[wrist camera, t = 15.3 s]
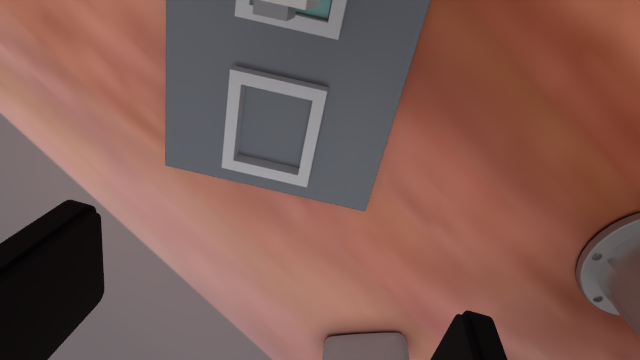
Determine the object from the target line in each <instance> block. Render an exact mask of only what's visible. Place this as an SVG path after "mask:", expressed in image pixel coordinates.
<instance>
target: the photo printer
mask: <svg viewBox="0 0 640 360" xmlns="http://www.w3.org/2000/svg"><path fill="white" fill-rule="evenodd" d="M323 360H409V353H408V346H407V341H406V339H405V337H404V336H403V335H401V334H400V333H368V334H352V335H341V336H332V337H328V338H326V341H325V343H324V351H323Z"/></svg>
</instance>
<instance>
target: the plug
mask: <svg viewBox="0 0 640 360" xmlns="http://www.w3.org/2000/svg"><path fill="white" fill-rule="evenodd" d="M320 3H321V0H254V4H253V14H255V15H260V16H264V17H269V18H273V19H278V20H283V21H288V20H291V19H293V18H295V13H296V8H298V9H303V10H307V9H310V8H313V7H316V6H318V5H320Z"/></svg>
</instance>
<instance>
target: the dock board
mask: <svg viewBox="0 0 640 360" xmlns="http://www.w3.org/2000/svg"><path fill="white" fill-rule="evenodd" d="M429 3H430V0H321V3H320V5H318V6H316V7H313V8H310V9H307V10H303V9H298V8H296V13H295V18H293V19H291V20H288V21H283V20H278V19H273V18H269V17H264V16H260V15H255V14H253V4H254V0H166V133H165V165H166V166H170V167H174V168H179V169H183V170H187V171H192V172H196V173H200V174H205V175H209V176H213V177H218V178H222V179H226V180H231V181H235V182H239V183H244V184H248V185H252V186H257V187H261V188H265V189H270V190H274V191H278V192H283V193H287V194H291V195H296V196H300V197H304V198H309V199H313V200H317V201H322V202H326V203H330V204H335V205H339V206H343V207H348V208H352V209H356V210H361V211H365V210H366V207H367V204H368V201H369V197H370V194H371V191H372V188H373V185H374V181H375V178H376V175H377V172H378V168H379V165H380V162H381V159H382V155H383V152H384V149H385V146H386V143H387V139H388V136H389V133H390V130H391V126H392V123H393V120H394V117H395V113H396V110H397V107H398V104H399V100H400V97H401V94H402V91H403V88H404V84H405V81H406V78H407V75H408V71H409V68H410V65H411V62H412V58H413V55H414V52H415V49H416V45H417V42H418V39H419V36H420V33H421V29H422V26H423V23H424V20H425V16H426V13H427V10H428V7H429Z"/></svg>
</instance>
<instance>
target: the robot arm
mask: <svg viewBox="0 0 640 360" xmlns="http://www.w3.org/2000/svg"><path fill="white" fill-rule="evenodd" d="M576 280H577V283H578V286H579V288H580V289H581V291H582V292H583V294H584V295H585V297H586V298H587V299H588V300H589V302H590V303H591V304H593V305H594V306H596V307H597V308H599V309H600V310H603V311H605V312H608V313H610V314H615V315H619V316H622V318H623V319H624V320H625V321H626V323H627V324H628V325H629V327H630V328H631V329H632V330H633V332H634V333H635V334H636V335H637V337H638V338H639V339H640V213H637V214H635V215H632V216H629V217H626V218H624V219H622V220H620V221H618V222H616V223H614V224H612V225H610V226H609V227H607V228H606V229H604V230H603V231H602V232H600V233H599V234H598V235H597V236H596V237H595V238H594V239H592V240H591V241H590V242H589V244H588V245H587V246H586V248H585V249H584V250H583V252H582V254H581V256H580V258H579V260H578V263H577V268H576ZM103 293H104V273H103V251H102V231H101V217H100V215H99V214H98V213H96V209H95V207H94V206H92V205H88V204H85V203H81V202H77V201H74V200H67V201H65V202H63V203H61V204H60V205H58V206H57V207H55V208H54V209H52V210H51V211H49V212H48V213H46V214H45V215H43V216H42V217H40V218H38V219H37V220H36V221H34V222H33V223H31V224H29V225H28V226H26V227H25V228H23V229H22V230H20V231H19V232H17V233H16V234H14V235H13V236H11V237H9V238H8V239H6V240H5V241H4V242H2V243H0V360H47V359H48V358H49V357H50V356H51V355H52V354H53V353H54V352H55V351H56V350H57V348H58V347H59V346H60V345H61V344H62V343H63V342H64V341H65V340H66V339H67V337H68V336H69V335H70V334H71V333H72V332H73V331H74V330H75V329H76V328H77V326H78V325H79V324H80V323H81V322H82V321H83V320H84V319H85V317H86V316H87V315H88V314H89V313H90V312H91V311H92V310H93V309H94V308H95V307H96V306H97V304H98V303H99V302H100V300H101V299H102V296H103ZM431 360H507V357H506V355H505V352H504V349H503V346H502V343H501V341H500V338H499V335H498V332H497V329H496V327H495V324H494V321H493V319H492V318H491V317H489V316H486V315H482V314H479V313H475V312H472V311H465V312H464V313H463V314H462V315H460V314H457V315H456V316H455V317H454V319H453V321H452V323H451V324H450V326H449V328H448V330H447V332H446V333H445V335H444V337H443V339H442V340H441V342H440V344H439V346H438V347H437V349H436V351H435V353H434V354H433V356H432V358H431Z"/></svg>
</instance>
